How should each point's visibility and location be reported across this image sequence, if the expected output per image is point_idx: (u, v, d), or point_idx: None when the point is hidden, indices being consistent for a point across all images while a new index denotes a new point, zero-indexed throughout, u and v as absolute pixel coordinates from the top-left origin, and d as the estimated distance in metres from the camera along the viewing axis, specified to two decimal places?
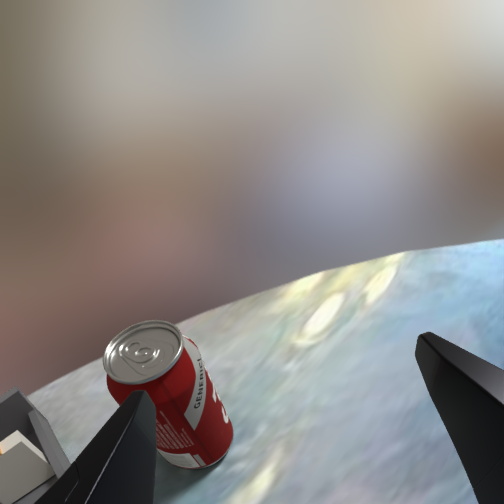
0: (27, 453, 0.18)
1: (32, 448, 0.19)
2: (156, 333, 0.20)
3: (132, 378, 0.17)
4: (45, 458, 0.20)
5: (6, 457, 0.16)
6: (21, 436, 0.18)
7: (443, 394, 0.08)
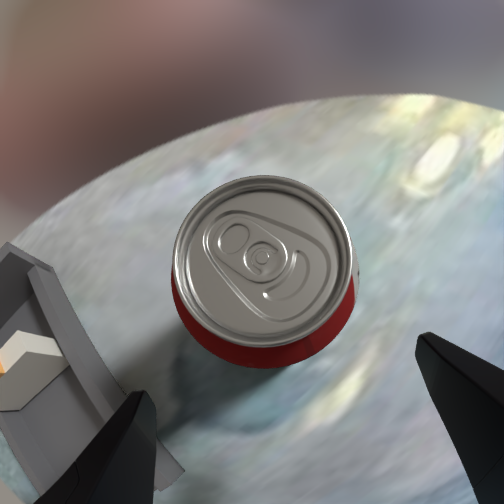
0: (36, 358, 0.16)
1: (41, 347, 0.16)
2: (284, 207, 0.11)
3: (246, 326, 0.09)
4: (58, 348, 0.18)
5: (10, 373, 0.15)
6: (24, 338, 0.15)
7: (443, 394, 0.08)
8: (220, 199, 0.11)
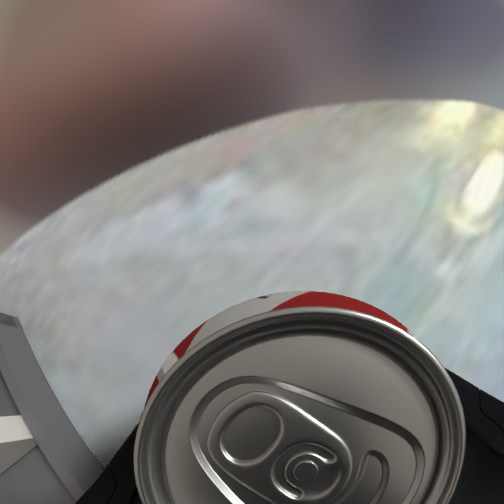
0: (1, 446, 0.10)
1: (5, 433, 0.11)
2: (352, 371, 0.05)
3: None
4: (27, 427, 0.13)
5: None
6: None
7: None
8: (219, 353, 0.05)
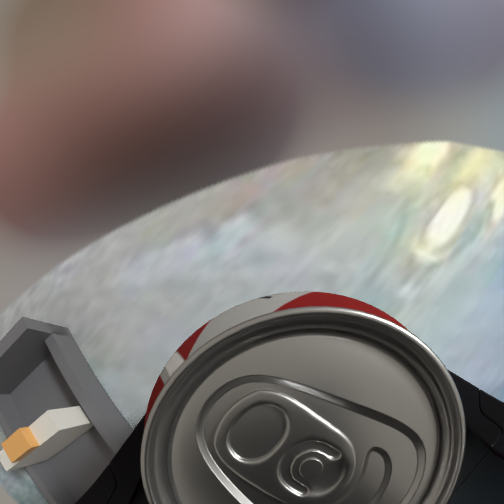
0: (67, 430, 0.16)
1: (71, 420, 0.17)
2: (356, 369, 0.05)
3: None
4: (85, 414, 0.19)
5: (44, 444, 0.15)
6: (55, 416, 0.16)
7: None
8: (227, 352, 0.05)
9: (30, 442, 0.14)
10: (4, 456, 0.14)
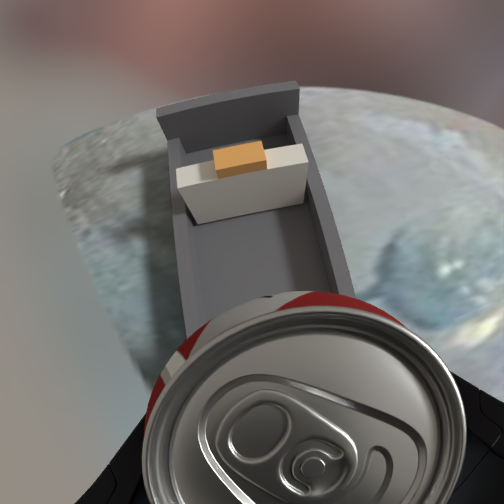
0: (297, 176, 0.21)
1: None
2: (357, 369, 0.05)
3: None
4: None
5: (268, 173, 0.20)
6: None
7: None
8: (228, 351, 0.05)
9: (265, 157, 0.19)
10: (191, 171, 0.20)
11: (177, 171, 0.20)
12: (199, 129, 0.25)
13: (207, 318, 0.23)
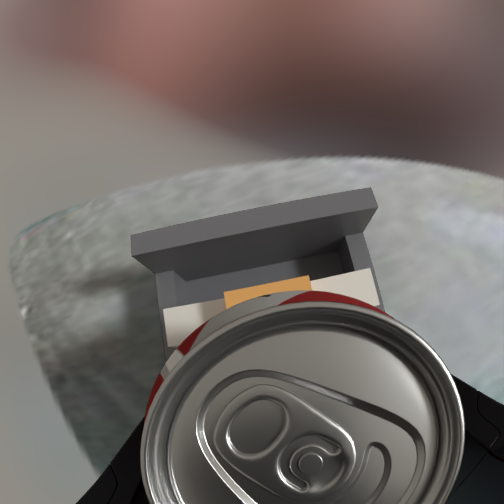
0: None
1: None
2: (354, 364, 0.05)
3: None
4: None
5: None
6: None
7: None
8: (227, 347, 0.05)
9: None
10: (188, 318, 0.12)
11: (166, 314, 0.12)
12: (205, 261, 0.16)
13: None
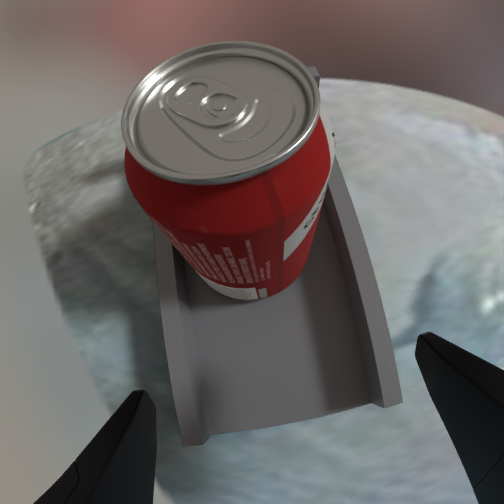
0: None
1: None
2: (245, 66, 0.09)
3: (195, 167, 0.08)
4: None
5: None
6: None
7: (443, 394, 0.08)
8: (180, 65, 0.09)
9: None
10: None
11: None
12: None
13: (201, 373, 0.17)
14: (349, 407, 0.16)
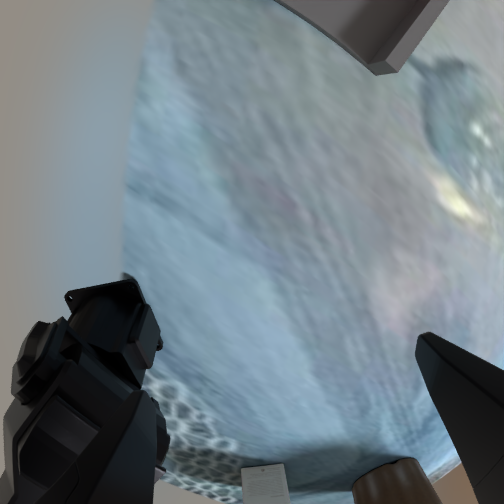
0: None
1: None
2: None
3: None
4: None
5: None
6: None
7: (443, 394, 0.08)
8: None
9: None
10: None
11: None
12: None
13: None
14: (353, 50, 0.16)
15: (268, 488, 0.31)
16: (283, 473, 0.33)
